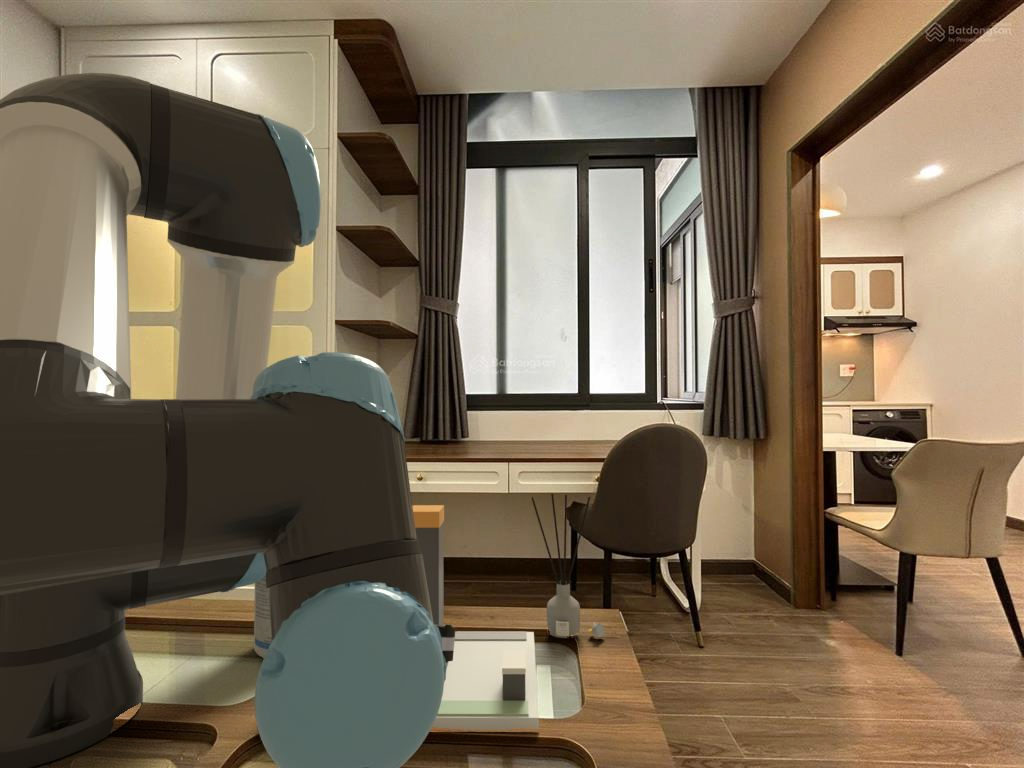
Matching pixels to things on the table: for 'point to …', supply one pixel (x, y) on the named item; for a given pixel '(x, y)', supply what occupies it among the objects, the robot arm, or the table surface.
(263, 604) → the supplement tub
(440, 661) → the robot arm
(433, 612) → the handle
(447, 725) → the panel
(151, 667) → the table surface
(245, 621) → the table surface
